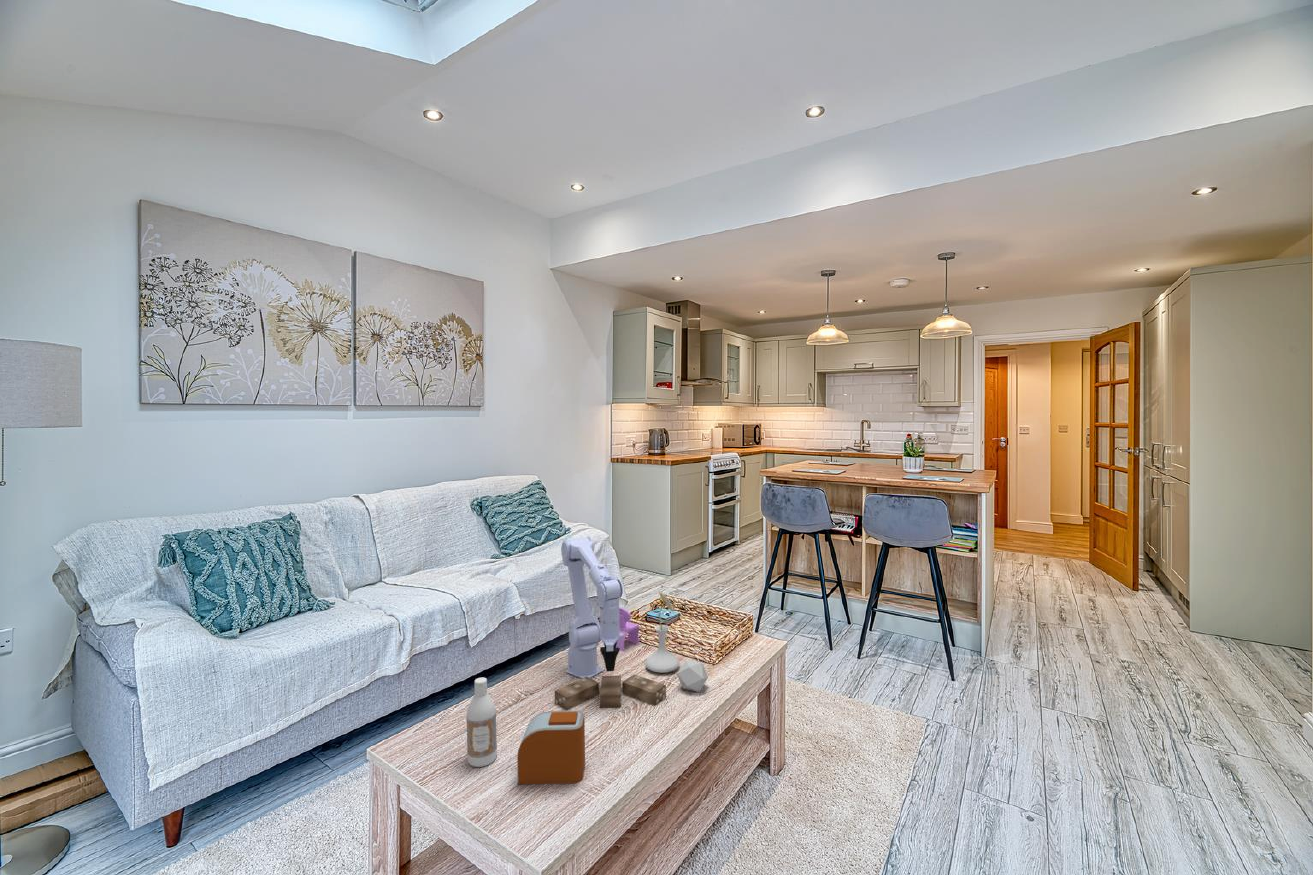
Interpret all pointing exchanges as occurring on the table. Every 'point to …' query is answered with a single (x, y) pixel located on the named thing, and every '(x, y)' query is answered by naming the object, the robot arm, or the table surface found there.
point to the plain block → (610, 692)
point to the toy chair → (627, 629)
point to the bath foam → (481, 727)
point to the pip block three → (576, 693)
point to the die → (692, 675)
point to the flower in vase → (662, 647)
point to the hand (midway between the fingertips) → (610, 664)
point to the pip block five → (644, 689)
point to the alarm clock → (553, 749)
